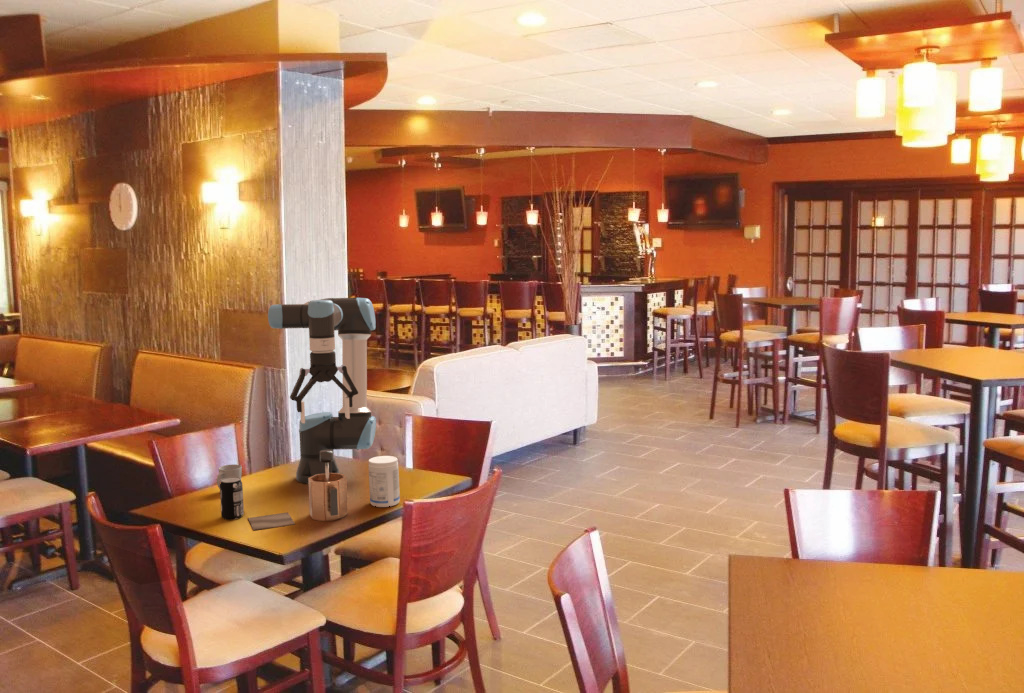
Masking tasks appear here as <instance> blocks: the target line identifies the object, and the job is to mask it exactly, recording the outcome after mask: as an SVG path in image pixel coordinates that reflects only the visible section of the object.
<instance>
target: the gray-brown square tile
mask: <svg viewBox="0 0 1024 693" xmlns="http://www.w3.org/2000/svg"><path fill="white" fill-rule="evenodd" d="M247 520H248V522H249V525H250V526H251V528H252V530H253V531H255V532H256V531H259V530H261V531H262V530H268V529H274V528H280V527H287V526H294V525H296V522H295V521H294V520H293V518H292V516H291V515H290V514H289V512H281V513H275V514H273V513H272V514H267V515H266V514H265V515H260V516H258V515H257V516H252V517H247Z"/></svg>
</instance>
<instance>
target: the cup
mask: <svg viewBox="0 0 1024 693" xmlns="http://www.w3.org/2000/svg"><path fill="white" fill-rule="evenodd" d="M242 469H243V466H242V465H241V464H233V463H232V464H226V465H222V466H220V467H218V474H217V475H216V476H217V477H216V485H217V487H218V489H219V490H220V484H221V479H223V478H227V477H240V478H241V479H240V480H241V481H242V475H243V474H242V473H243V472H242V471H243V470H242Z"/></svg>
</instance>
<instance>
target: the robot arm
mask: <svg viewBox="0 0 1024 693" xmlns="http://www.w3.org/2000/svg"><path fill="white" fill-rule="evenodd" d="M374 308H375V307H374V305H373V303H372V301H371V300H370V299H369V298H366V297H336V298H334V297H327V298H321V299H314V300H313V299H312V300H309V301H306V302H305V303H297V304H296V303H294V304H293V303H292V304H291V303H288V304H285V303H283V304H282V303H279V304H271V305H270V306H269V308H268V312H267V320H268V324H269V327H270V328H271V329H279V330H282V329H285V330H286V329H308V334H309V335H308V336H309V337H308V338H309V340H308V341H309V350H310V353H309V361H310V363H309V364H310V365H309V366H310V367H309V368H303V367H301V368H300V369H299V375H298V377H297V380H296V381H295V382H296V383H295V385H294V387H293V389H292V391H291V393H290V396H289V399H290V400H292V401H295V402H296V411H297V412H298V413H300V419H299V421H298V422H299V424H298V426H299V429H298V432H299V452H300V459H299V463H298V466H297V470H296V474H295V476H296V477H295V480H296V481H297V482H298V483H302V484H308V478H310V477H312V476H314V475H317V474H324V473H326V472H325V463H323V462H320V451H322V450H333V461H332V462H328V464H329V473H340V469H339V466H338V464H337V462H336V458H335V454H334V452H335V451H334V450H336V451H337V450H357V451H359V450H368V449H370V448H371V447H372V445H373V444H374V441H375V436H376V430H377V418H376V416H374V415H372V410H370V408H369V407H368V396H367V395H368V394H367V392H368V390H367V389H368V376H367V375H368V363H367V362H368V361H367V360H368V359H367V358H368V356H367V355H368V354H367V352H368V349H367V348H368V344H367V342H368V339H370V337H371V336H372V331H374V330H376V327H377V326H376V323H377V322H376V321H377V320H376V314H375V309H374ZM335 331H337V335H338V337H339V338H340V339H341V341H342V355H341V356H342V360H341V361H342V363H341V365H340V366H337V360H336V359H337V358H336V352H335V350H336V340H335V339H336V338H335ZM338 371H339V373H340V374H342V381H340V380H339V379H338V378H337V377H336V374H337V372H338ZM308 374H310V375H311V377H309V380H308V382H307V383H306V385H305V386H304V387H303V388H302V389H301V387H302V385H303V383H304V381H305V377H307V376H308ZM331 381H332V382H334V384H335V385H336V386H337V387H339V388H340V389H341V391H342V406H341V408H340V410H339V411H338V412H337V414H338V415H337V416H334V415H333V412H330V411H325V412H324V411H322V412H317V413H311V414H308V415H306V412H305V410H306V409H305V401H304V400H303V399H304V398H305V397H306V396H307V394H308V393H309V392H310V391H311V389H312V388H313V386H314V385H315V384H316V383H317V382H318V383H324V382H327V383H329V382H331ZM300 389H301V391H300ZM299 391H300V392H299Z"/></svg>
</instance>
